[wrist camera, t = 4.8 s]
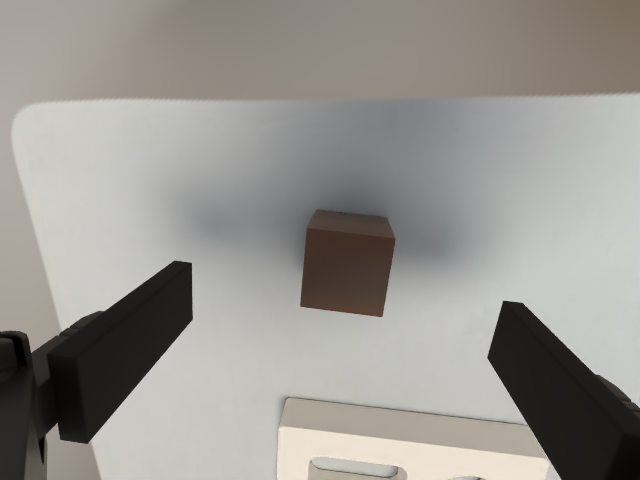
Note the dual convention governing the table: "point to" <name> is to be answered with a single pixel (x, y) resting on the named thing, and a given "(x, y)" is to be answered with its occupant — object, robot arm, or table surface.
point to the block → (347, 263)
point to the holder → (403, 444)
